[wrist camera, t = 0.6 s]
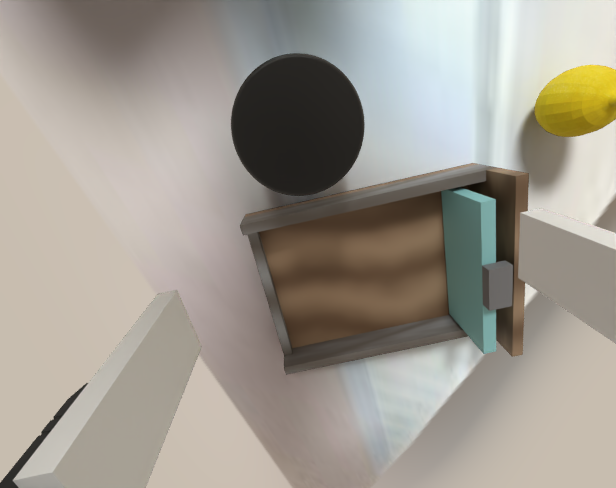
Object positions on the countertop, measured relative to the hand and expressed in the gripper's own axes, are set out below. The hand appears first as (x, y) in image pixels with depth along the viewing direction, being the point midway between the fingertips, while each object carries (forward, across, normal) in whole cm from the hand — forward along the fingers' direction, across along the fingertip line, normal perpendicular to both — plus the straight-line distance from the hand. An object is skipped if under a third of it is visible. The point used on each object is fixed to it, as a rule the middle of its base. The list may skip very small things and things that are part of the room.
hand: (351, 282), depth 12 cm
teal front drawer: (+21, +4, -11) cm, 24 cm away
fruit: (+22, +23, +2) cm, 32 cm away
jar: (+22, 0, +5) cm, 22 cm away
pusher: (+20, +13, -11) cm, 26 cm away
